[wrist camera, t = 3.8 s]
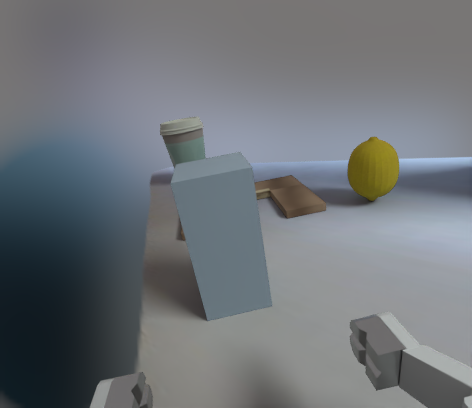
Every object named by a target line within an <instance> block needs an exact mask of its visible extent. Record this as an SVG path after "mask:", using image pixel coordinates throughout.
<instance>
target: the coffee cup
mask: <svg viewBox="0 0 472 408" xmlns="http://www.w3.org/2000/svg"><path fill="white" fill-rule="evenodd" d="M160 126H161V128H160V135H162V136H163V139H164V142H165V144H166V147H167V150H168V153H169V155H170V158H171V160H172V163H173V166H174V168H175V167H176V164H180V163H186V162H191V161H196V160H201V159H205V148H204V139H203V129H202V127H203V125H202V122H201V121H200V119H199V117H190V118H184V119H179V120H173V121H169V122H165V123H162V124H160Z"/></svg>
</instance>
